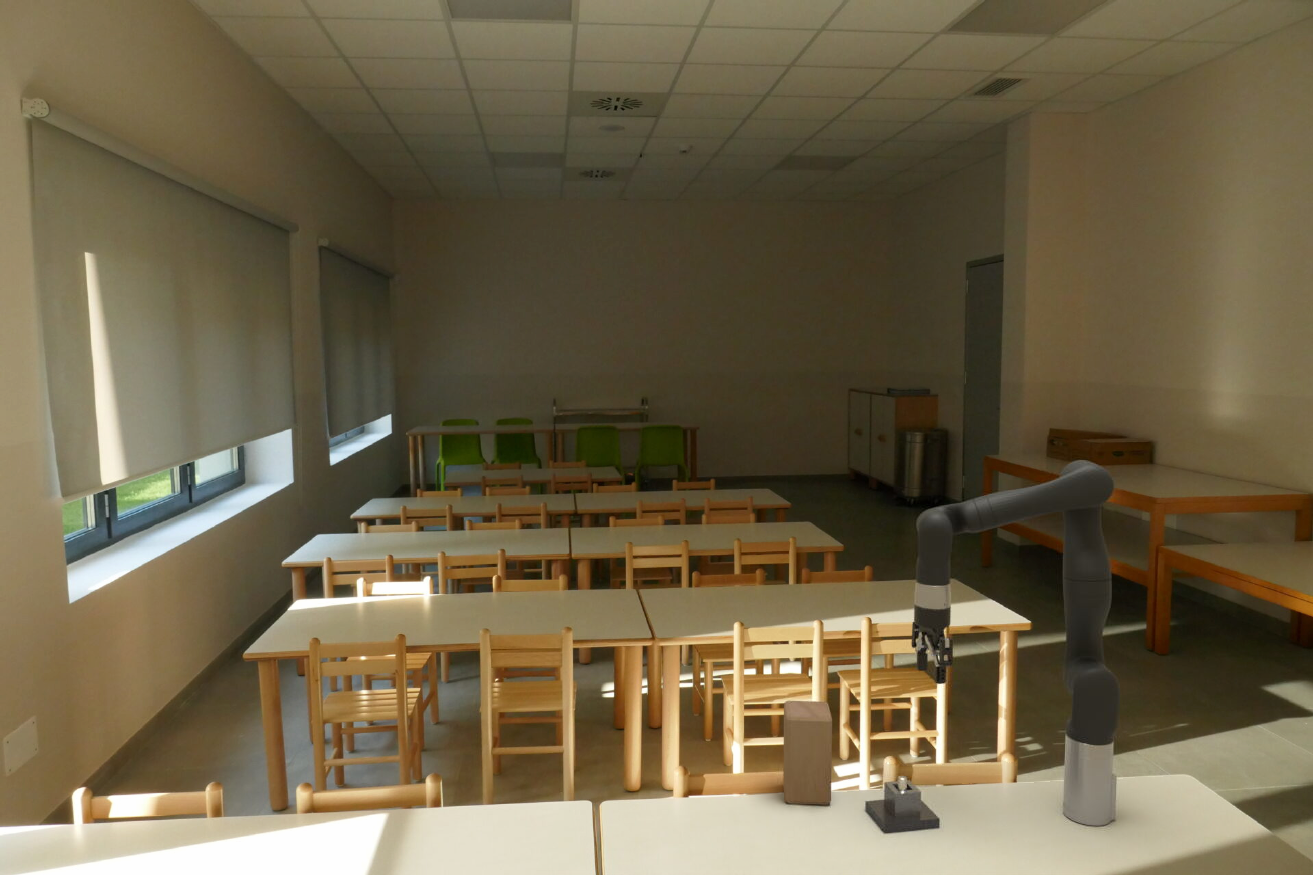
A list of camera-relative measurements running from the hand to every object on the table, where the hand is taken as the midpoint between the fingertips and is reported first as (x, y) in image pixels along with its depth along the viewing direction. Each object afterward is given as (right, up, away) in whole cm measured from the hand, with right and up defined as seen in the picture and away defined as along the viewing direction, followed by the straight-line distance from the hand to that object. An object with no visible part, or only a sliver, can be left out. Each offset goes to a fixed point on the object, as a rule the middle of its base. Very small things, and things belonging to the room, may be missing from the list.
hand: (930, 676), depth 202 cm
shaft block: (-8, -29, -5) cm, 30 cm away
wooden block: (-26, -28, +6) cm, 39 cm away
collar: (-8, -27, -5) cm, 28 cm away
